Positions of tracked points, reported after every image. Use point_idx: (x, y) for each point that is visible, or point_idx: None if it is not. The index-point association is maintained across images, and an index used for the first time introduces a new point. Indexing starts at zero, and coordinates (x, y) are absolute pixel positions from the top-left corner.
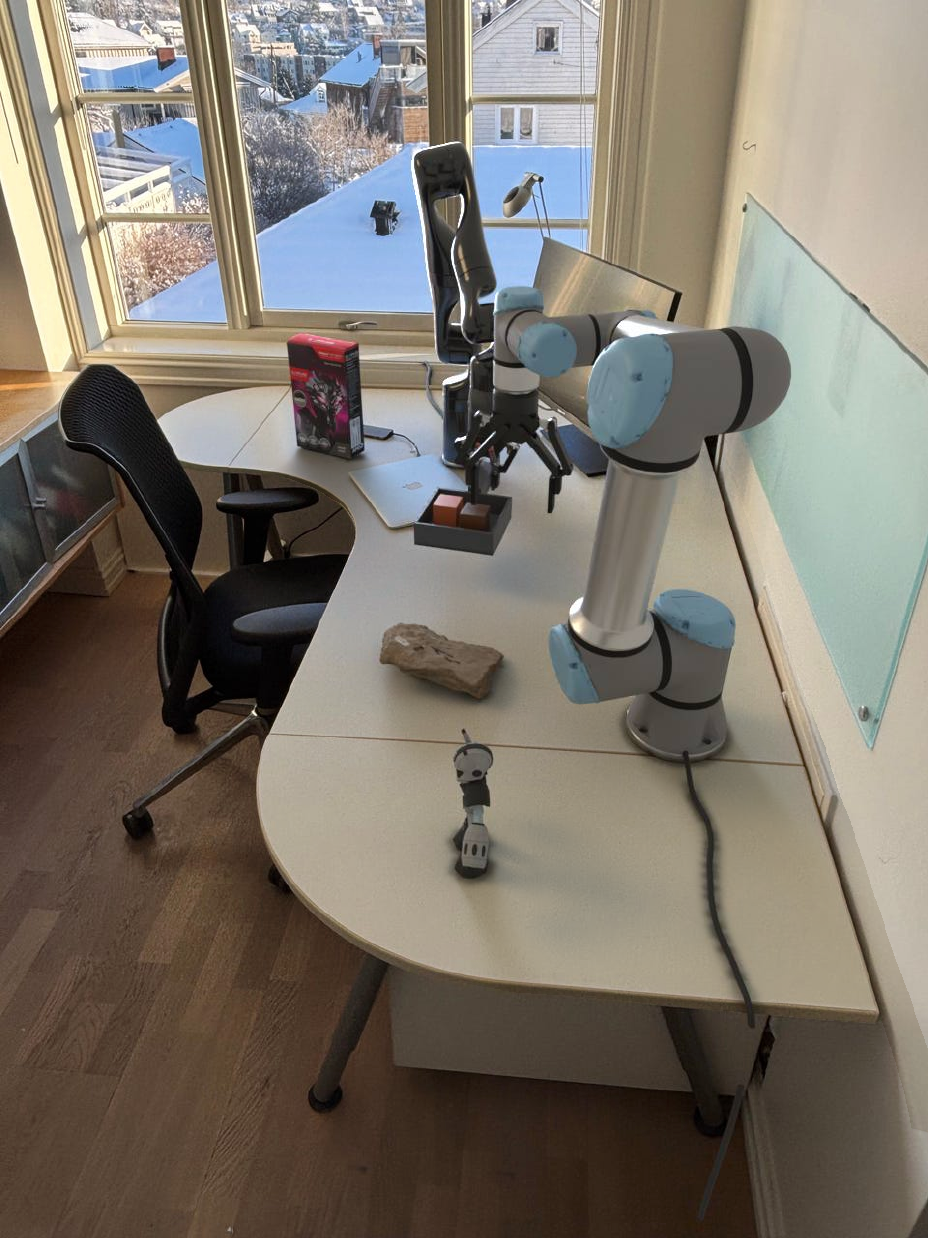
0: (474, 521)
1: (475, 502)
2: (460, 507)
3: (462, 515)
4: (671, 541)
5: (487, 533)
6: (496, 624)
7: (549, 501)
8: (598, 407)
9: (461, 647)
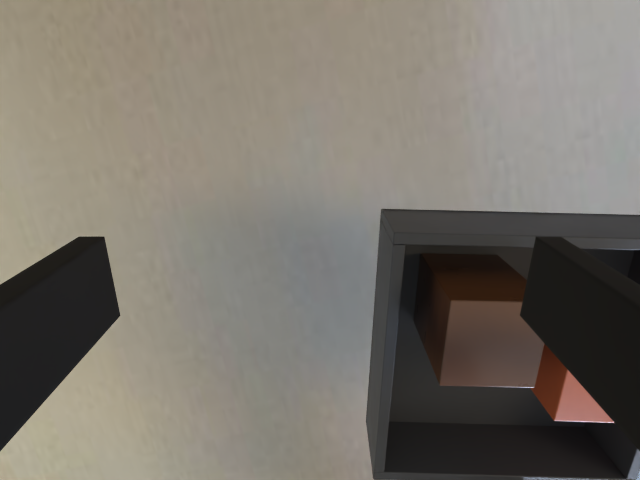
0: (482, 288)
1: (539, 253)
2: (546, 372)
3: None
4: (60, 472)
5: (418, 233)
6: (333, 71)
7: (46, 266)
8: None
9: None
